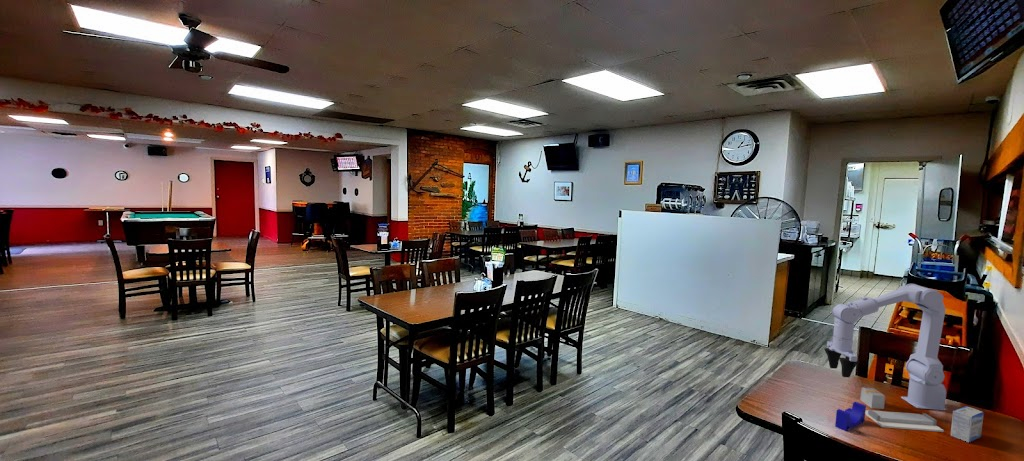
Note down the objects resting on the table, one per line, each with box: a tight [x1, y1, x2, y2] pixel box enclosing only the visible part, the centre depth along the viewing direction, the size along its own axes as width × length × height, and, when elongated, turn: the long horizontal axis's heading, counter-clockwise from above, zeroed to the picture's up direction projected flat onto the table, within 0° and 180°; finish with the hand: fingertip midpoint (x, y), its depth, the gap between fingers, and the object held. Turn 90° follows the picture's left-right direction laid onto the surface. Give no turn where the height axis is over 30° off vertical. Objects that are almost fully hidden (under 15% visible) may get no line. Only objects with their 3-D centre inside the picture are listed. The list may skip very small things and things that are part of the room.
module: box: [859, 386, 886, 410], centre depth 155 cm, size 4×6×5 cm
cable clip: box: [834, 401, 867, 432], centre depth 142 cm, size 12×4×6 cm, turn 118°
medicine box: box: [950, 405, 984, 444], centre depth 135 cm, size 8×4×9 cm, turn 114°
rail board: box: [865, 408, 945, 433], centre depth 144 cm, size 18×10×2 cm, turn 82°
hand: (839, 372), depth 158 cm, fingers open, 7 cm apart
